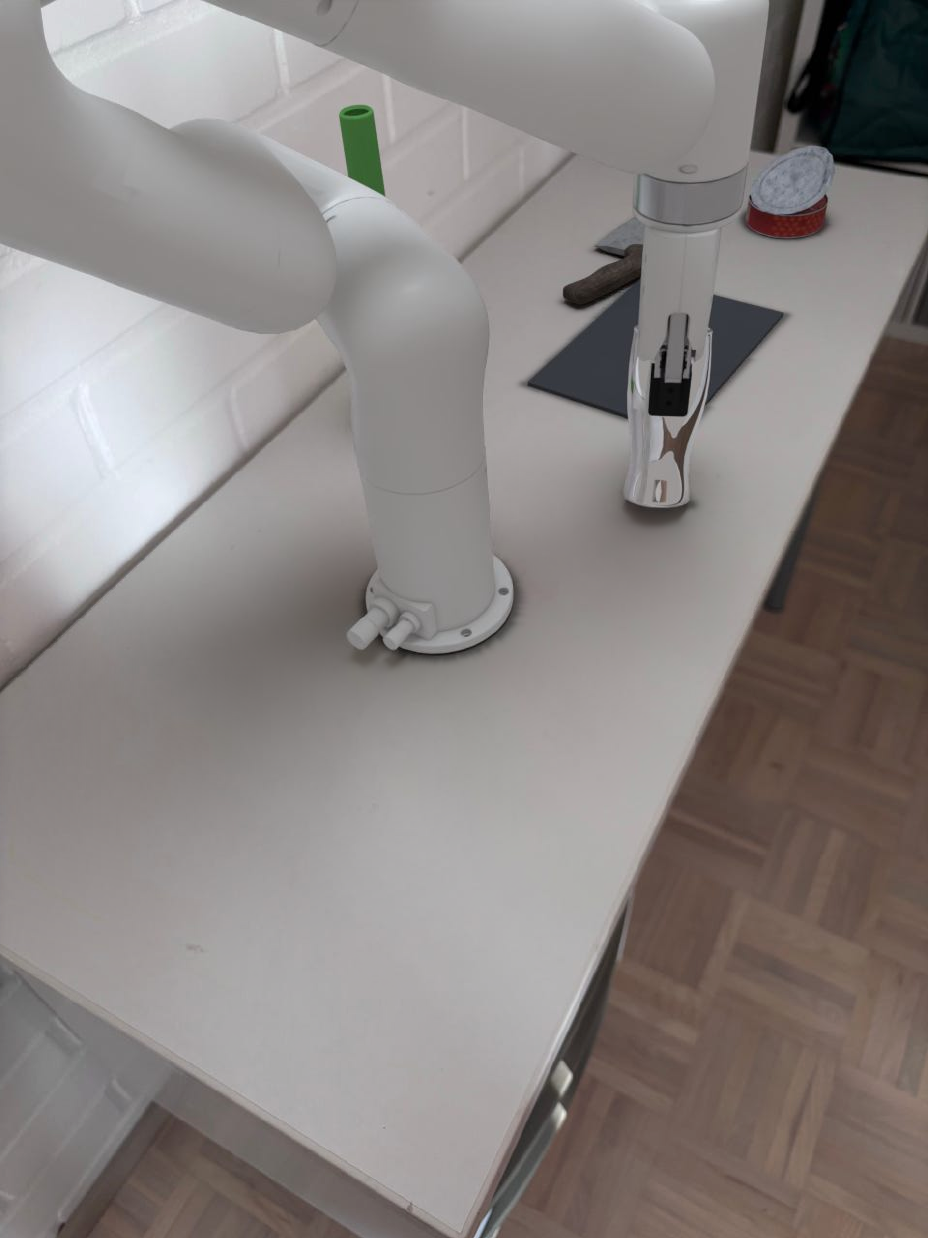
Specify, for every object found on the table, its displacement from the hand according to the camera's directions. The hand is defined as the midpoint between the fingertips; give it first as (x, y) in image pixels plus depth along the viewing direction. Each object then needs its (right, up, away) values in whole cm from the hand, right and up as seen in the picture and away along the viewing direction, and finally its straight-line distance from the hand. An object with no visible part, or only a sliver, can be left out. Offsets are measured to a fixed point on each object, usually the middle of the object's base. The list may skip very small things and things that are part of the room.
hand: (667, 410), depth 79 cm
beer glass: (+1, -6, +8) cm, 10 cm away
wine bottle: (-24, +4, +22) cm, 33 cm away
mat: (+5, +13, +27) cm, 30 cm away
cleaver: (+5, +29, +42) cm, 51 cm away
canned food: (+25, +34, +45) cm, 62 cm away
